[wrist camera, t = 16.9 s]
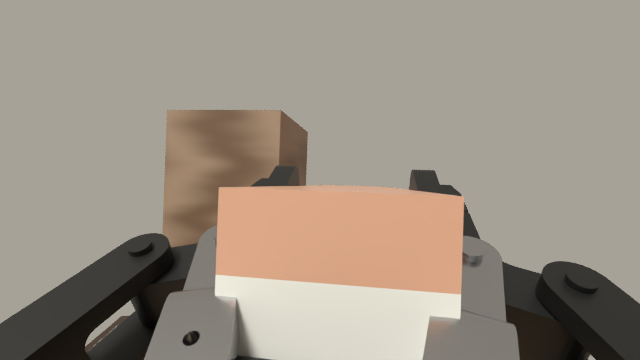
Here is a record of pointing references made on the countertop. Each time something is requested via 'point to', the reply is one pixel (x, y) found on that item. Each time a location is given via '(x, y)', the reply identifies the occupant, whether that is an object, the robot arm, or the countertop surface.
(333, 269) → the bar
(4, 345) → the robot arm
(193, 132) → the walnut stand
